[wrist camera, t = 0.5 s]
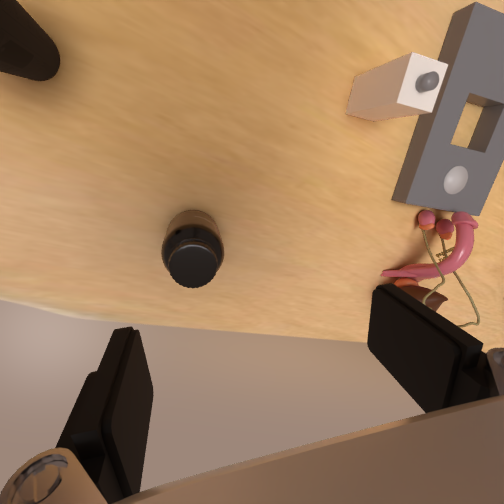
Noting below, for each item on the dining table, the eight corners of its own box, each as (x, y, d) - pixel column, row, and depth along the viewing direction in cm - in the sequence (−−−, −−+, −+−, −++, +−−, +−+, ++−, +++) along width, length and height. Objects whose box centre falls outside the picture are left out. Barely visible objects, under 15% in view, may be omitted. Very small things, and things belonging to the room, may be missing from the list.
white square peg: (355, 76, 36) (421, 47, 26) (383, 85, 37) (459, 60, 27) (345, 114, 37) (405, 100, 27) (373, 121, 38) (441, 111, 28)
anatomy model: (490, 210, 43) (537, 315, 34) (405, 253, 55) (423, 339, 46) (439, 182, 39) (477, 292, 31) (360, 235, 52) (371, 324, 43)
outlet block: (453, 13, 36) (476, 1, 33) (531, 45, 39) (558, 36, 36) (391, 199, 43) (405, 203, 40) (461, 212, 47) (479, 216, 44)
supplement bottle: (215, 206, 38) (226, 229, 27) (220, 253, 40) (232, 292, 29) (162, 211, 37) (151, 238, 26) (171, 259, 39) (164, 303, 28)
